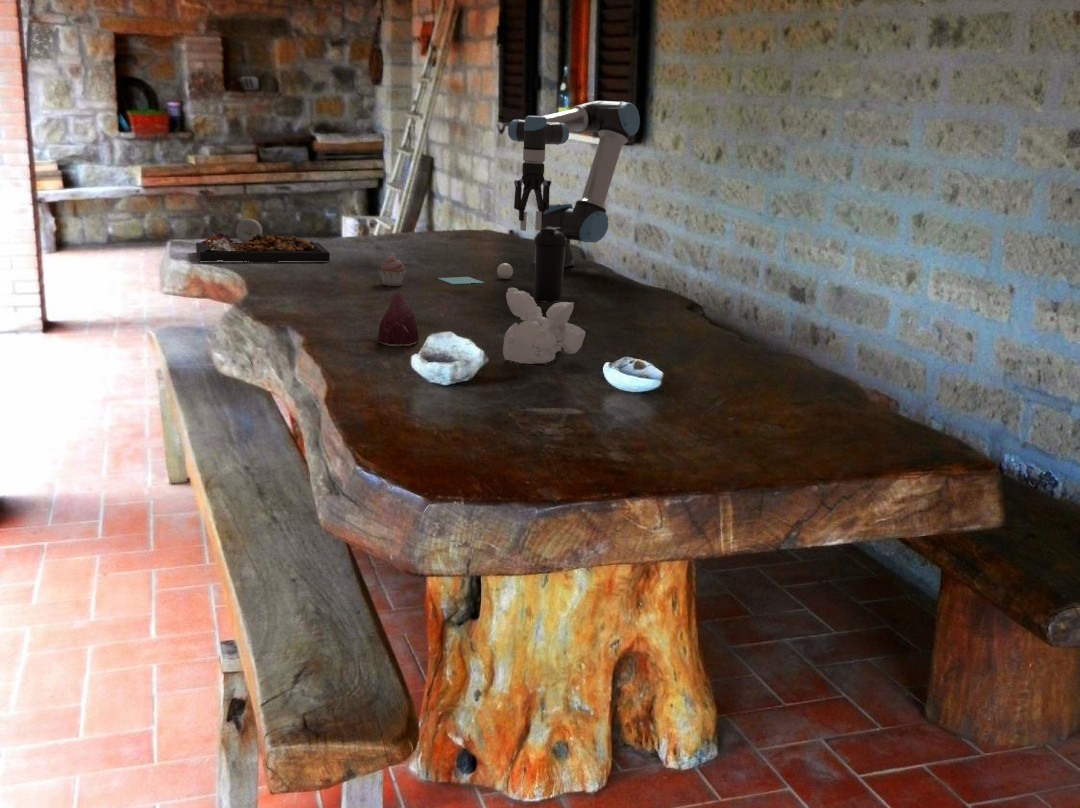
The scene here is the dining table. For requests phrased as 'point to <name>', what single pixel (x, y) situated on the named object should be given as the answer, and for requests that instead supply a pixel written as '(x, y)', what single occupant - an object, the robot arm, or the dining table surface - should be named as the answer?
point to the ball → (504, 271)
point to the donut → (244, 224)
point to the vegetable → (398, 323)
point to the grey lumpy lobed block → (539, 330)
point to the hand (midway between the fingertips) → (530, 230)
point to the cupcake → (392, 271)
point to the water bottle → (549, 264)
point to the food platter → (260, 249)
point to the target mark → (460, 280)
